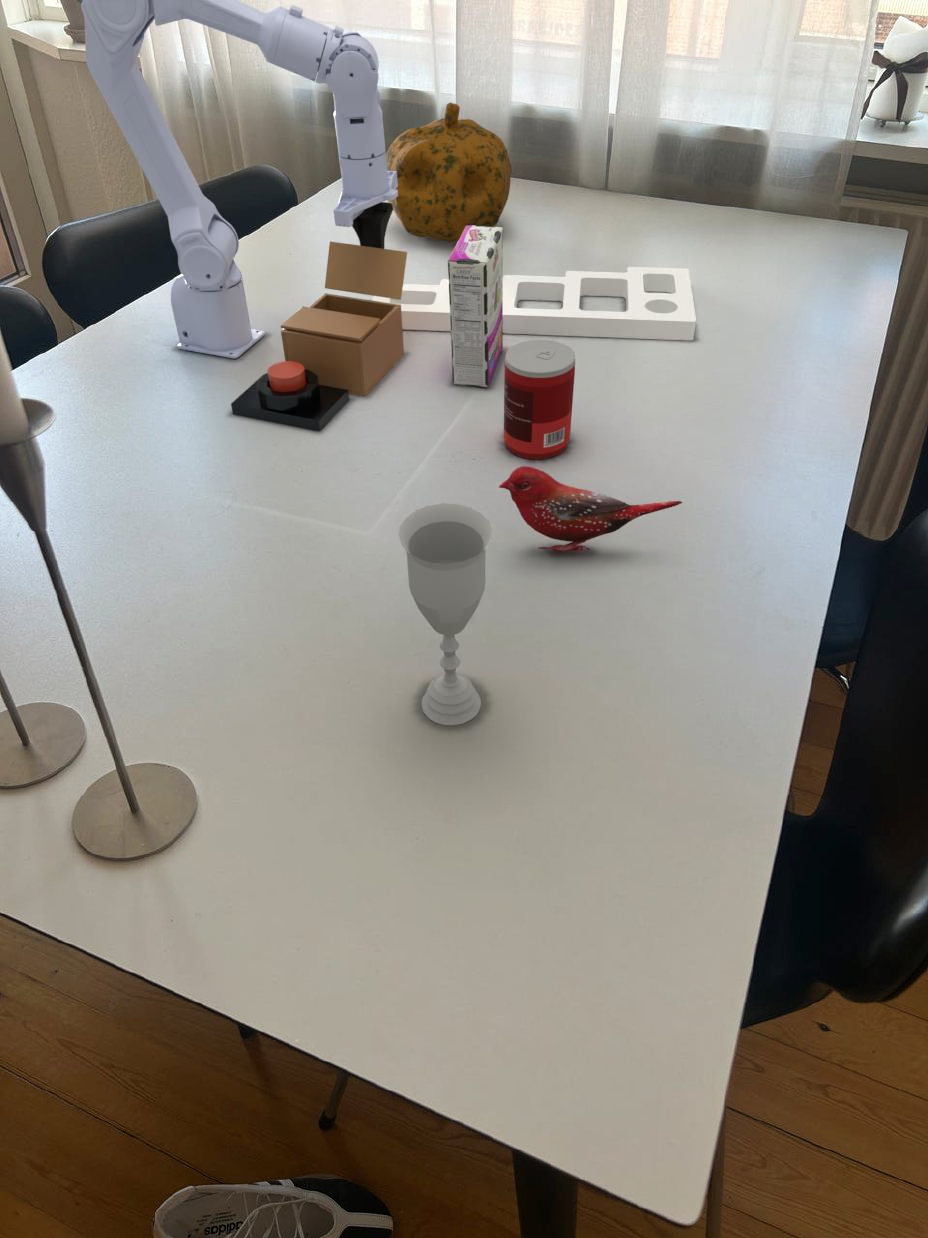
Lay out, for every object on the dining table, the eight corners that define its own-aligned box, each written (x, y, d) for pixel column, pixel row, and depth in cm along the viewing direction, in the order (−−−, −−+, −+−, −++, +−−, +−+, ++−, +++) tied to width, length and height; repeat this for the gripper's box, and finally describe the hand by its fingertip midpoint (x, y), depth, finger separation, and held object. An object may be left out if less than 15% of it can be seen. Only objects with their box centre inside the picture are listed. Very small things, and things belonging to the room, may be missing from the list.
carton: (330, 342, 132) (324, 287, 127) (404, 354, 129) (400, 299, 124) (288, 382, 124) (279, 325, 119) (365, 396, 121) (360, 338, 116)
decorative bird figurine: (497, 542, 98) (498, 458, 92) (672, 543, 98) (686, 459, 91) (497, 560, 96) (498, 475, 90) (676, 561, 96) (690, 476, 89)
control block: (232, 414, 118) (227, 388, 116) (265, 384, 124) (261, 359, 121) (319, 431, 115) (316, 405, 113) (349, 400, 120) (346, 374, 118)
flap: (324, 287, 127) (325, 288, 127) (400, 299, 124) (401, 299, 124) (329, 241, 126) (330, 241, 126) (406, 251, 123) (407, 252, 123)
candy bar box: (467, 346, 131) (465, 223, 120) (503, 349, 130) (505, 225, 119) (449, 386, 123) (446, 257, 112) (488, 389, 122) (488, 260, 111)
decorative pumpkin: (393, 200, 171) (395, 76, 157) (510, 215, 170) (522, 91, 156) (369, 248, 157) (368, 116, 143) (496, 265, 156) (509, 133, 142)
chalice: (409, 675, 84) (396, 505, 72) (486, 669, 85) (487, 500, 73) (413, 738, 79) (400, 566, 67) (495, 732, 79) (497, 560, 67)
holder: (368, 327, 135) (366, 309, 134) (389, 276, 149) (388, 258, 147) (693, 340, 131) (696, 321, 129) (686, 286, 145) (688, 268, 143)
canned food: (576, 430, 114) (583, 343, 107) (559, 465, 109) (565, 376, 101) (515, 420, 116) (517, 334, 109) (494, 454, 111) (495, 366, 103)
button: (263, 390, 116) (260, 374, 115) (281, 373, 119) (278, 358, 118) (295, 396, 115) (293, 380, 114) (312, 379, 118) (310, 363, 117)
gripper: (366, 174, 111) (379, 288, 120) (415, 135, 121) (423, 244, 130) (312, 169, 113) (328, 282, 122) (364, 132, 123) (375, 239, 132)
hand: (374, 262), depth 126 cm, fingers closed, pressing on flap
